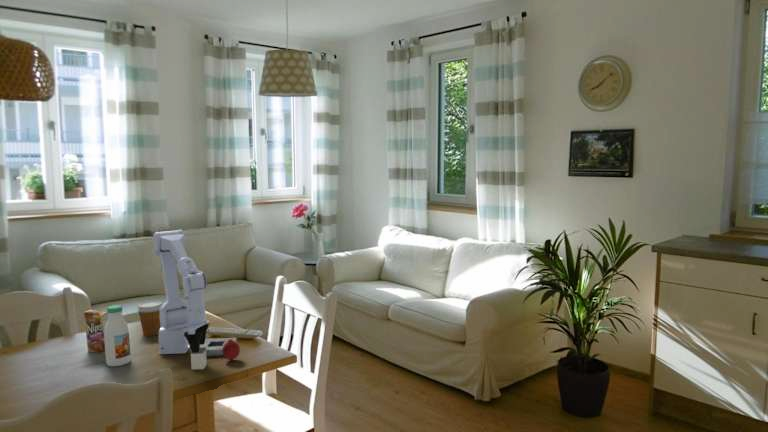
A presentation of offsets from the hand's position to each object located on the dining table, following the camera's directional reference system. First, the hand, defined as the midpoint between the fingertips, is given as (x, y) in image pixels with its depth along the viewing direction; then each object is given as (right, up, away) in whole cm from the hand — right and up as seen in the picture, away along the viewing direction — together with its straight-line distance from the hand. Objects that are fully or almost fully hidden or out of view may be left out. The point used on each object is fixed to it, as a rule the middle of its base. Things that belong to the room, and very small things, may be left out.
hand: (198, 348), depth 187 cm
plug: (0, -7, +1) cm, 7 cm away
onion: (+10, -6, +6) cm, 13 cm away
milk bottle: (-29, -7, +6) cm, 31 cm away
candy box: (-41, -5, +17) cm, 45 cm away
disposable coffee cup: (-31, -3, +36) cm, 48 cm away
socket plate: (+1, -5, +16) cm, 17 cm away
